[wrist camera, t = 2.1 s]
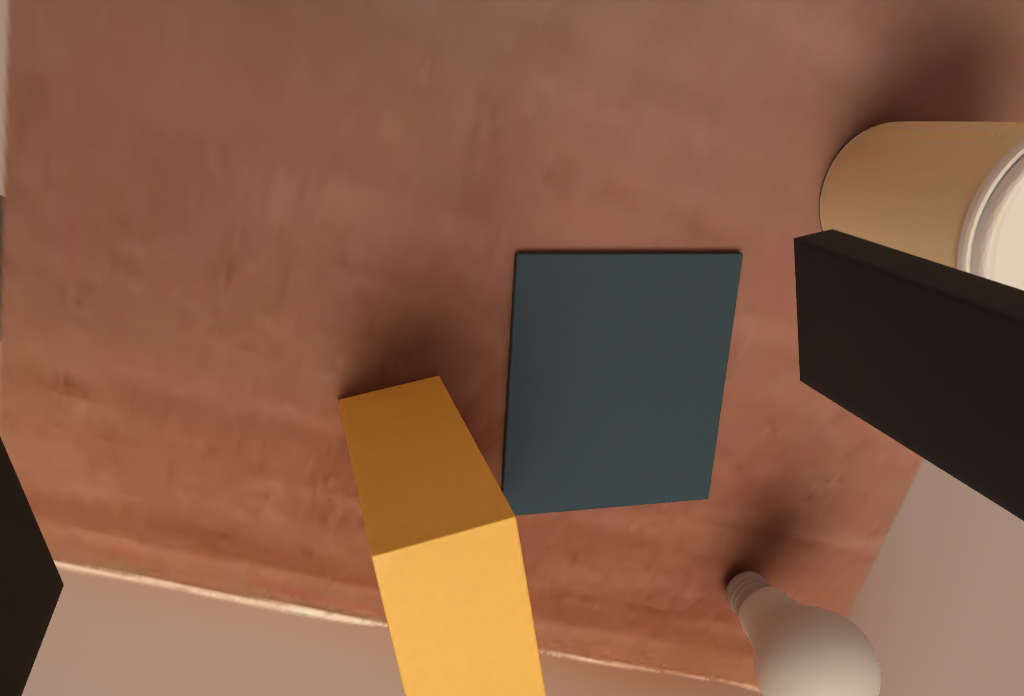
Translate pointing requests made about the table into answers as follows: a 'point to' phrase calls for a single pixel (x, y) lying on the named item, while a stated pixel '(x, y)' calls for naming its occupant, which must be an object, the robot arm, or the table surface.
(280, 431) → the table surface
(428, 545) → the cereal box
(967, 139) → the coffee cup
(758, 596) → the lightbulb
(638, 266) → the slate mat
